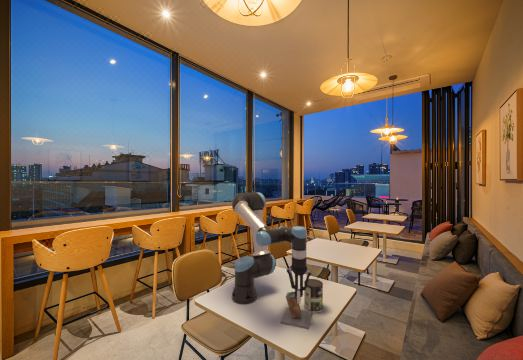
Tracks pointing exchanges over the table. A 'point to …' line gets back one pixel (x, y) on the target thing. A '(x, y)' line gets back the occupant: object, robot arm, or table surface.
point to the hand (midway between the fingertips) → (298, 302)
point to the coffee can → (313, 296)
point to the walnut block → (293, 305)
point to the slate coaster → (297, 319)
